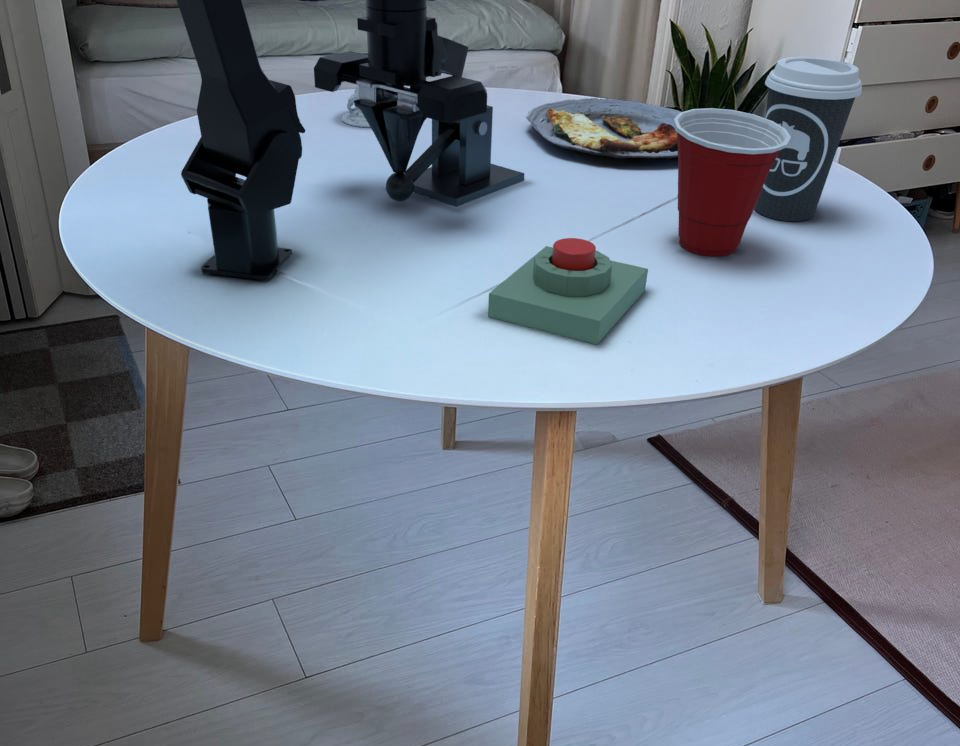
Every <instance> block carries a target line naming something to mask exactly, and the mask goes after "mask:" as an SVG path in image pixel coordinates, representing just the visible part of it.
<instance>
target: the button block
mask: <svg viewBox="0 0 960 746" xmlns="http://www.w3.org/2000/svg"><path fill="white" fill-rule="evenodd" d="M552 254H553V246H548V245H546V246H544V247H542V249H541V250H540V251H538V252H537V253H536V254H535V255H534V256H533V257H531V258H530V259H529V260H527V261H526V262H525V263H523V265H521V266H520V267H519V268H518V269H517V270H515V271H514V272H513V273H512V274H510V275H509V276H508V277H507V278H506V279H505V280H503V281H502V282H501V283H499V284H498V285H497V286H496V287H494V289H492V290H491V291H490V292H488V305H487V306H488V308H487V317H488V318H492V319H496V320H500V321H504V322H507V323H511V324H514V325H518V326H522V327H527V328H530V329H535V330H539V331H542V332H545V333H550V334H554V335H558V336H561V337H565V338H570V339H573V340H577V341H581V342H585V343H588V344H592V345H597V346H598V345H599V344H600V343H601V341H602V340H603V339H604V338H606V336H607V335H608V333H609V332H610V331H611V330H612V329H613V328H614V327H615V326H616V324H617V323H618V322H619V321H620V320H621V319H622V318H623V316H624V315H626V313H627V312H628V311H629V310H630V309H631V308H632V306H634V304H635V303H636V302H637V301H638V300H639V299H640V297H641V296H642V295H643V294H644V293H645V292H646V286H647V280H648V273H649V269H648V268H646V267H642V266H637V265H634V264H628V263H624V262H620V261H615V260H611V259H610V257H609V256H607V255H606V254H604V253H602V252H600V251H598V250H596V251H595V260H594V267H593V269H589V270H585V271H568V270H564V269H560V268H557V267H555V266H554V265H552Z"/></svg>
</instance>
